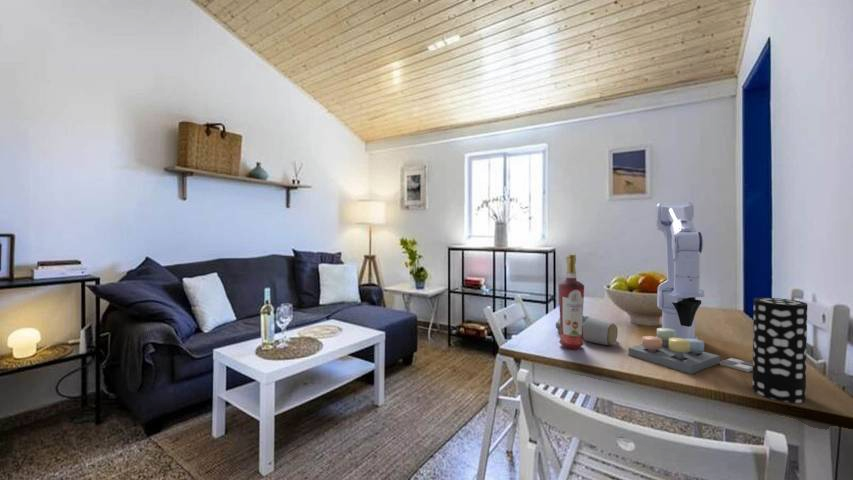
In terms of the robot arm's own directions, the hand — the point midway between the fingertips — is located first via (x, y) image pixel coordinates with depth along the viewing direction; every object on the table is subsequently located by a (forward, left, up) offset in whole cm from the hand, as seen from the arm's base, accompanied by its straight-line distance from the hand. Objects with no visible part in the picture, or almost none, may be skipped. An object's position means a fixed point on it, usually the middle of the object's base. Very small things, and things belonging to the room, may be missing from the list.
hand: (686, 325), depth 102 cm
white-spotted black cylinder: (+7, +21, -9) cm, 24 cm away
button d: (+7, +2, -7) cm, 10 cm away
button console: (+4, -2, -9) cm, 10 cm away
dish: (+5, -32, -9) cm, 33 cm away
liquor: (+19, -23, -9) cm, 31 cm away
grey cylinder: (+7, -21, -9) cm, 24 cm away
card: (-5, +10, -9) cm, 14 cm away
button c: (+7, -5, -9) cm, 12 cm away
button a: (0, -5, -7) cm, 9 cm away
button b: (0, +2, -9) cm, 9 cm away
